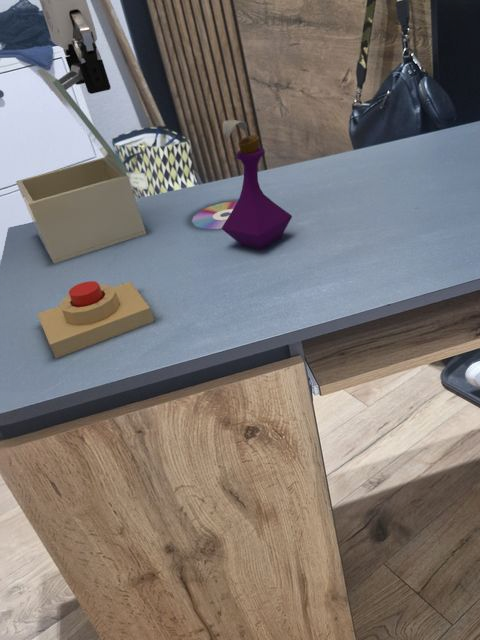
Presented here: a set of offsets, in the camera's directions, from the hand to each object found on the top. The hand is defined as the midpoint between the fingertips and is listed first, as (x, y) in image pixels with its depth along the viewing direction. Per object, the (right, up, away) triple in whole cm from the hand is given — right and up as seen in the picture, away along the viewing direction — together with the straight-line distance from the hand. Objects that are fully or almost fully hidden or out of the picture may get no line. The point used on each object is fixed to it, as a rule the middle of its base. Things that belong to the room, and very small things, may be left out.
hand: (92, 86), depth 96 cm
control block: (+7, -36, -15) cm, 40 cm away
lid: (-2, -5, +1) cm, 6 cm away
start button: (+7, -33, -17) cm, 38 cm away
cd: (+18, -17, +10) cm, 27 cm away
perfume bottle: (+25, -23, 0) cm, 34 cm away
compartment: (-4, -21, +10) cm, 23 cm away
